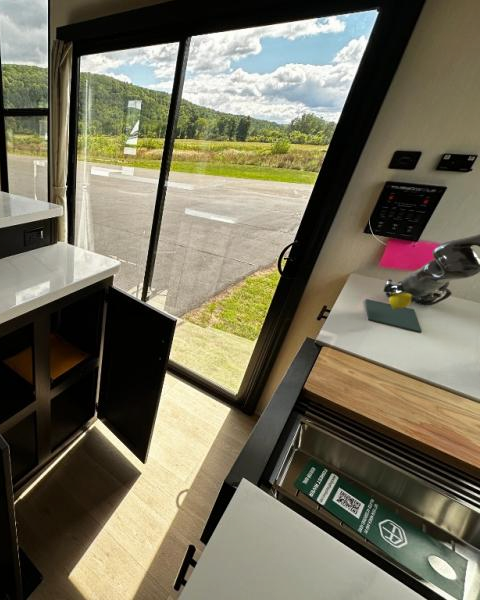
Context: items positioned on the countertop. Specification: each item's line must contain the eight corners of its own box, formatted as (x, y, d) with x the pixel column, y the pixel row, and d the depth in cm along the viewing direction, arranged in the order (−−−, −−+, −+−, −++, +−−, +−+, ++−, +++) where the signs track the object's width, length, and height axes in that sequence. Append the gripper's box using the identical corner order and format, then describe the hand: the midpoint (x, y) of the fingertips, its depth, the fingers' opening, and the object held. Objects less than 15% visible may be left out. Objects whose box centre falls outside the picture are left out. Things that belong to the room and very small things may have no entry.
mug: (422, 311, 117) (437, 289, 112) (401, 295, 127) (413, 273, 122) (449, 313, 115) (465, 290, 110) (425, 296, 125) (438, 275, 120)
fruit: (404, 314, 110) (416, 295, 106) (383, 309, 114) (394, 289, 110) (405, 308, 114) (417, 289, 109) (385, 303, 117) (396, 284, 113)
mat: (413, 310, 117) (414, 309, 117) (421, 332, 106) (422, 331, 106) (365, 300, 124) (366, 298, 124) (368, 320, 113) (368, 318, 113)
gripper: (391, 285, 101) (371, 300, 116) (454, 298, 94) (424, 312, 109) (397, 264, 102) (376, 282, 117) (460, 275, 95) (430, 292, 110)
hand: (400, 296), depth 113 cm, fingers closed on fruit, 5 cm apart
